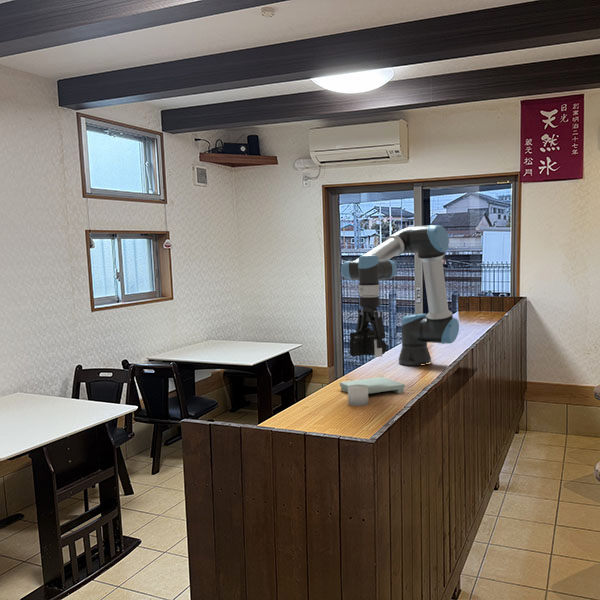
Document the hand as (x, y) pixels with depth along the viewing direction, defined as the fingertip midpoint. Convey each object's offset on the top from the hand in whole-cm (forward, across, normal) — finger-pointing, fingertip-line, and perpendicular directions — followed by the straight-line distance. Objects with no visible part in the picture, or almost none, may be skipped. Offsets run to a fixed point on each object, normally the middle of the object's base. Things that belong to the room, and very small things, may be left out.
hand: (370, 354), depth 212 cm
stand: (+14, 0, 0) cm, 14 cm away
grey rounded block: (+14, +13, -13) cm, 23 cm away
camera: (+1, 0, 0) cm, 1 cm away
